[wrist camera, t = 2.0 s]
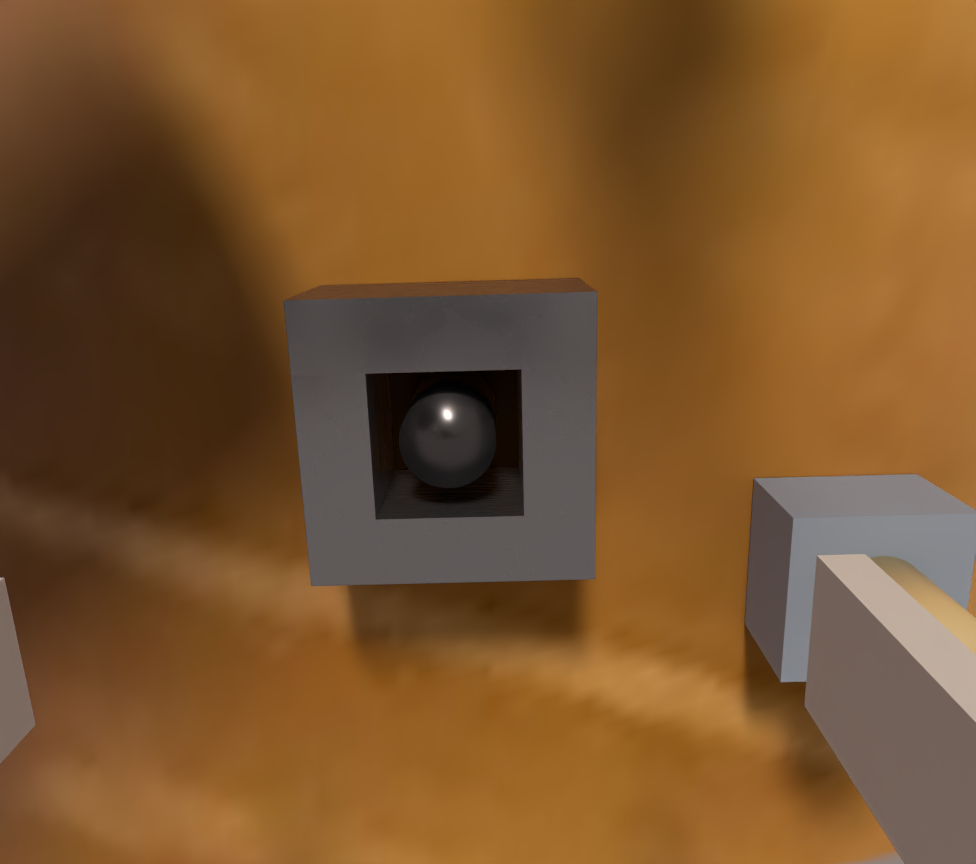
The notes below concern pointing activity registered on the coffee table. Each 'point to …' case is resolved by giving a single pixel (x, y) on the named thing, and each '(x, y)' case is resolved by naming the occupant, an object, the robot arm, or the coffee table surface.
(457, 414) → the ball
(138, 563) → the coffee table surface
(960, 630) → the blue-gray block
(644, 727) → the coffee table surface
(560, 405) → the grey hollow block
